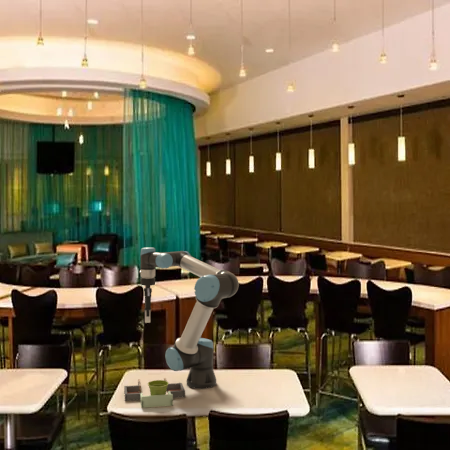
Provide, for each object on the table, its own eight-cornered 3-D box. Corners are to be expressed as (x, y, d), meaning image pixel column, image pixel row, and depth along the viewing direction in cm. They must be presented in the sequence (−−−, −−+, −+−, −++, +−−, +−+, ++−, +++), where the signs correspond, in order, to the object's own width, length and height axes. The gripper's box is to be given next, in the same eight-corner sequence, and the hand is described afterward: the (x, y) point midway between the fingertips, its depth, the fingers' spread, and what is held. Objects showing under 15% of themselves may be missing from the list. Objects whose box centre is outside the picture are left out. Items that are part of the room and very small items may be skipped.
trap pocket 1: (124, 392, 271) (124, 386, 271) (139, 391, 272) (139, 385, 272) (124, 400, 259) (125, 394, 259) (141, 399, 261) (141, 393, 261)
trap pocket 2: (166, 389, 275) (166, 383, 275) (181, 388, 277) (181, 382, 276) (169, 398, 263) (169, 391, 263) (185, 397, 265) (185, 390, 265)
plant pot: (166, 405, 253) (166, 387, 253) (145, 405, 254) (145, 386, 254) (170, 398, 263) (170, 380, 262) (150, 397, 264) (150, 379, 263)
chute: (137, 385, 281) (137, 379, 281) (165, 383, 284) (165, 378, 284) (138, 392, 271) (139, 385, 271) (167, 390, 274) (167, 384, 274)
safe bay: (140, 399, 262) (140, 388, 261) (170, 397, 264) (170, 386, 264) (141, 407, 251) (141, 396, 251) (172, 405, 254) (172, 394, 253)
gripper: (139, 275, 296) (139, 320, 297) (141, 279, 284) (141, 325, 285) (154, 275, 298) (153, 319, 299) (156, 278, 285) (155, 324, 286)
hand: (147, 322), depth 292 cm, fingers closed
